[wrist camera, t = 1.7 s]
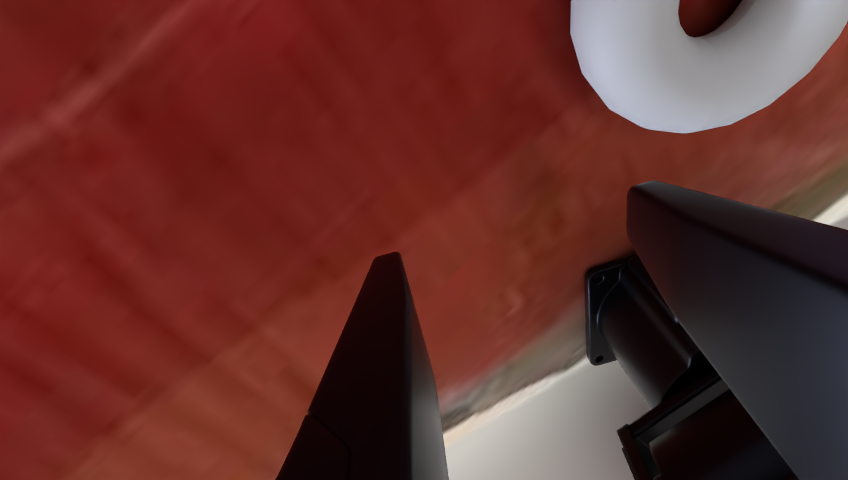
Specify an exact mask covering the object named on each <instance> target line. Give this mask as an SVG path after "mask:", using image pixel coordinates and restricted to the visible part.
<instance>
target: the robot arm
mask: <svg viewBox="0 0 848 480" xmlns="http://www.w3.org/2000/svg"><path fill="white" fill-rule="evenodd" d="M626 227H627V235H628V238H629V240H630V242H631V244H632V246H633V248H634V249H635V251H636V253H637V255H633V256H630V257H626V258H623V259H619V260H616V261H612V262H609V263H605V264H602V265H598V266H595V267H592V268H590V269H589V270H588V271H587V272H586V274H585V304H586V335H587V357H588V359H589V361H590V362H591V364H593V365H601V364H605V363H608V362H612V361H615V360H618V361H619V363H620V365H621V366H622V368H623V369H624V371H625V372H626V374H627V375H628V377H629V378H630V380H631V381H632V383H633V384H634V386H635V387H636V389H637V390H638V392H639V393H640V395H641V396H642V398H643V399H644V401H645V402H646V404H647V405H648V407H649V408H650V410H649V411H648V412H647V413H645V414H644V415H642V416H641V417H639V418H638V419H637V420H635V421H634V422H632V423H631V424H625V425H624V426H622V427H621V428H620V429H618V430H617V433H618V435H619V438H620V440H621V443H622V445H623V448H622V451H623V453H624V455H625V457H626V460H627V463H628V465H629V467H630V470H631V472H632V474H633V477H634V479H635V480H848V230H846V229H842V228H838V227H834V226H830V225H826V224H822V223H818V222H815V221H811V220H807V219H803V218H799V217H795V216H791V215H787V214H783V213H780V212H776V211H772V210H768V209H764V208H760V207H756V206H752V205H748V204H745V203H741V202H737V201H733V200H729V199H725V198H721V197H717V196H713V195H710V194H706V193H702V192H698V191H694V190H690V189H686V188H682V187H678V186H675V185H671V184H667V183H663V182H659V181H649V182H646V183H642V184H638V185H635V186H632V187H631V188H630V189H629V191H628V194H627V226H626ZM598 275H599V276H598ZM596 276H598V277H597V278H595V277H596ZM594 278H595V279H594ZM275 480H449V478H448V470H447V463H446V456H445V448H444V441H443V433H442V426H441V418H440V411H439V404H438V396H437V390H436V384H435V379H434V375H433V370H432V366H431V363H430V359H429V355H428V352H427V348H426V345H425V341H424V337H423V334H422V330H421V326H420V323H419V319H418V315H417V312H416V308H415V305H414V301H413V297H412V294H411V290H410V286H409V283H408V279H407V276H406V272H405V268H404V265H403V261H402V258H401V254H400V253H399V252H392V253H389V254H385V255H381V256H378V257H376V258H375V259H374V260H373V262H372V265H371V267H370V269H369V272H368V274H367V276H366V279H365V281H364V283H363V285H362V288H361V290H360V292H359V295H358V297H357V299H356V301H355V304H354V306H353V308H352V311H351V313H350V315H349V318H348V320H347V322H346V324H345V327H344V329H343V331H342V334H341V336H340V338H339V340H338V343H337V345H336V347H335V350H334V352H333V354H332V357H331V359H330V361H329V363H328V366H327V368H326V370H325V373H324V375H323V377H322V379H321V382H320V384H319V386H318V389H317V391H316V393H315V396H314V398H313V400H312V402H311V405H310V407H309V409H308V415H306V416H305V418H304V420H303V422H302V425H301V427H300V429H299V432H298V434H297V436H296V438H295V441H294V443H293V445H292V447H291V449H290V451H289V453H288V455H287V457H286V460H285V462H284V464H283V466H282V468H281V470H280V472H279V474H278V476H277V478H276V479H275Z"/></svg>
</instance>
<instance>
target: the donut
mask: <svg viewBox="0 0 848 480" xmlns="http://www.w3.org/2000/svg"><path fill="white" fill-rule="evenodd" d="M679 1H680V0H571V26H570V34H571V37H572V41H573V44H574V48H575V51H576V54H577V58H578V61H579V65H580V68H581V71H582V74H583V75H584V77H585V78H586V79H587V81H588V82H589V83H590V85H591V86H592V87H593V89H594V90H595V91H596V92H597V94H598V95H599V96H600V98H601V99H602V100H603V102H604V103H605V104H606V105H607V107H608V108H609V109H610V110H612V111H613V112H615V113H617V114H619V115H621V116H622V117H624V118H626V119H628V120H630V121H631V122H633V123H635V124H637V125H639V126H641V127H643V128H646V129H650V130H658V131H667V132H675V133H684V134H685V133H692V132H697V131H702V130H707V129H711V128H716V127H721V126H726V125H730V124H733V123H735V122H737V121H739V120H741V119H743V118H745V117H747V116H749V115H751V114H753V113H755V112H757V111H759V110H760V109H762V108H764V107H766V106H768V105H770V104H771V103H772V102H774V101H775V100H776V99H777V98H779V97H780V96H781V95H782V94H783V93H785V92H786V91H787V90H788V89H790V88H791V87H792V86H793V85H794V84H796V83H797V82H798V81H799V80H801V79H802V78H803V77H804V76H805V75H807V74H808V73H809V72H810V71H811V69H812V68H813V67H814V66H815V65H816V63H817V62H818V61H819V60H820V59H821V57H822V56H823V55H824V54H825V53H826V51H827V50H828V49H829V48H830V47H831V45H832V44H833V43H834V42H835V41H836V39H837V38H838V37H839V36H840V34H841V32H842V30H843V28H844V27H845V25H846V23H847V21H848V0H742V1H741V3H740V4H739V5H738V7H737V8H736V9H735V11H734V12H733V14H732V15H731V16H730V18H728V19H727V20H726V21H725V22H724V23H723V24H722V25H720V26H719V27H718V28H717V29H716V30H715V31H713V32H711V33H709V34H707V35H705V36H700V37H695V38H694V37H689V36H688V35H687V34H686V33H685V32H684V30H683V28H682V27H681V25H680V22H679V16H678V8H679Z"/></svg>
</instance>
